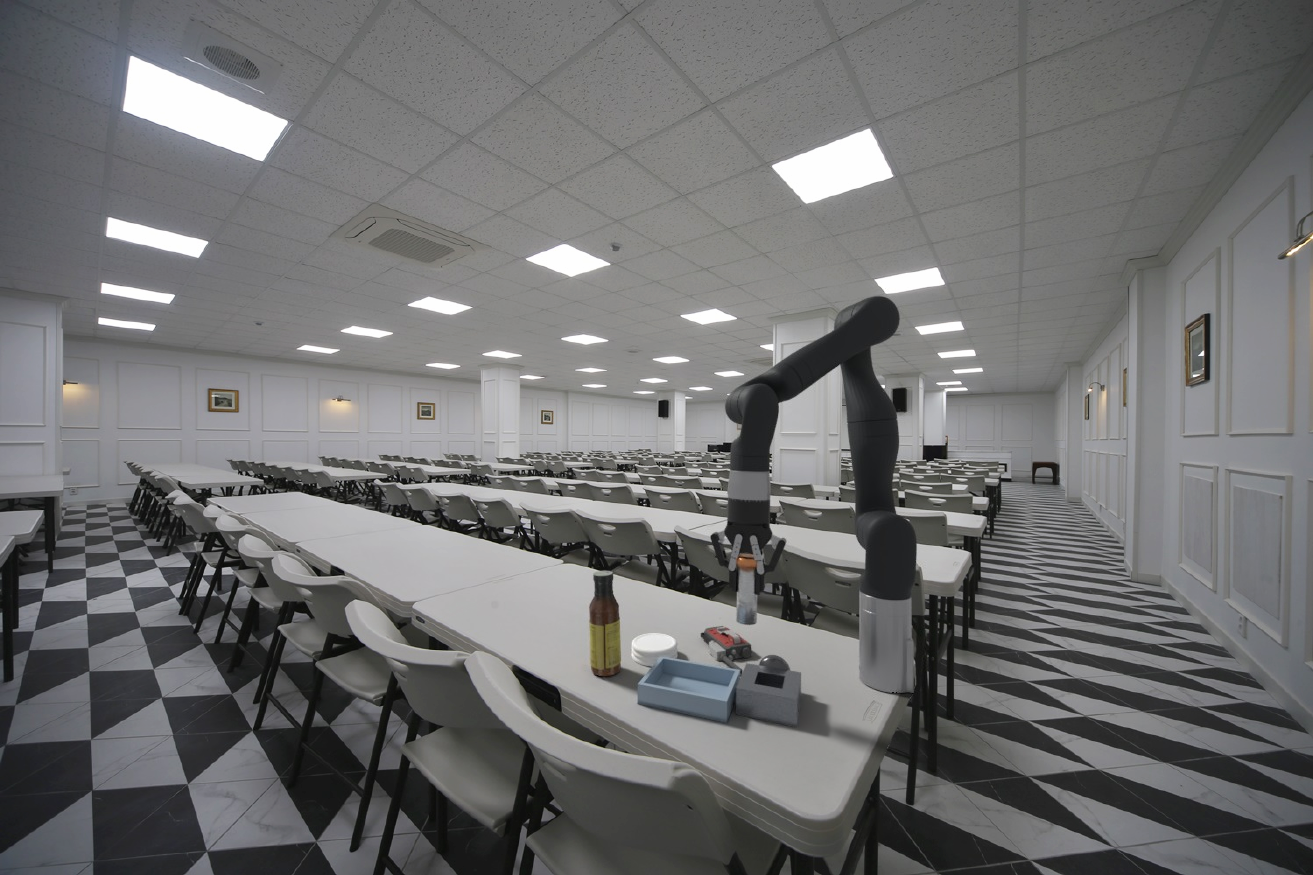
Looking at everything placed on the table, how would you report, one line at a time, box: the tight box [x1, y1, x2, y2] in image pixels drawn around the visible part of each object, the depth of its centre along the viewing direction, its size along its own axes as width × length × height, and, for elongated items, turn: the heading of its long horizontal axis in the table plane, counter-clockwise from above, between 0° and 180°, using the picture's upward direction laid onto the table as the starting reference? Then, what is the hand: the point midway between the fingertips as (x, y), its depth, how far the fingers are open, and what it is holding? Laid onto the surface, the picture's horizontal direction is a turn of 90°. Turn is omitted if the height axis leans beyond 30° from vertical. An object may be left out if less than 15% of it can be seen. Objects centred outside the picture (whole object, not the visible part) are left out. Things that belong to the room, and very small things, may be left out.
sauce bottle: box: [588, 570, 622, 677], centre depth 97 cm, size 6×6×20 cm
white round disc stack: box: [630, 632, 678, 668], centre depth 103 cm, size 10×10×4 cm
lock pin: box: [735, 553, 758, 626], centre depth 85 cm, size 4×4×12 cm
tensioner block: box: [735, 654, 802, 728], centre depth 85 cm, size 10×12×6 cm
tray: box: [637, 656, 741, 724], centre depth 87 cm, size 16×12×4 cm
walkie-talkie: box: [700, 625, 752, 675], centre depth 105 cm, size 9×4×20 cm
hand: (746, 591), depth 85 cm, fingers closed on lock pin, 3 cm apart
